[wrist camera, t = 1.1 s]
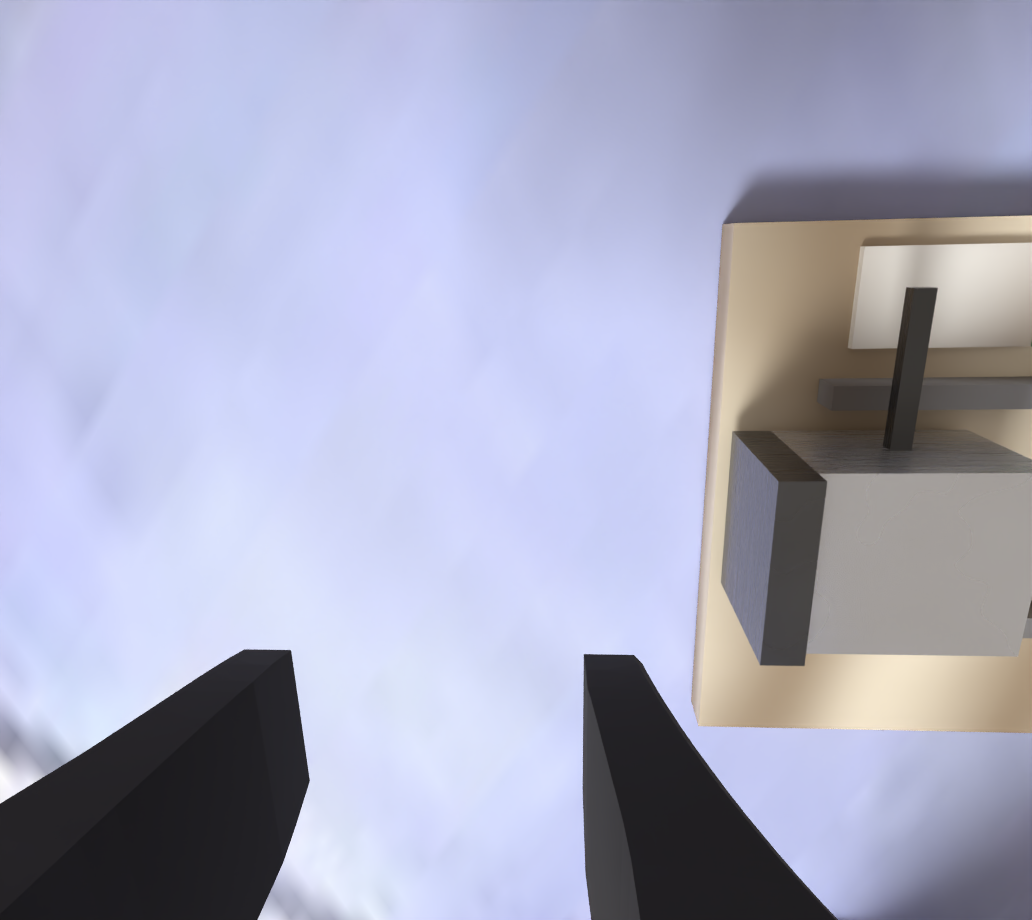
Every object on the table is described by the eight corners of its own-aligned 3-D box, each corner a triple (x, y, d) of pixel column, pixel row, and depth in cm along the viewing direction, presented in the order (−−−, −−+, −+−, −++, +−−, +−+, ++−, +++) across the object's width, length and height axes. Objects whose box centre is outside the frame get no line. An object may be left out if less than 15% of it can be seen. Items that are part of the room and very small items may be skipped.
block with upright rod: (720, 582, 16) (759, 665, 13) (743, 286, 14) (796, 299, 11) (938, 584, 15) (1032, 669, 12) (994, 281, 13) (1124, 292, 10)
